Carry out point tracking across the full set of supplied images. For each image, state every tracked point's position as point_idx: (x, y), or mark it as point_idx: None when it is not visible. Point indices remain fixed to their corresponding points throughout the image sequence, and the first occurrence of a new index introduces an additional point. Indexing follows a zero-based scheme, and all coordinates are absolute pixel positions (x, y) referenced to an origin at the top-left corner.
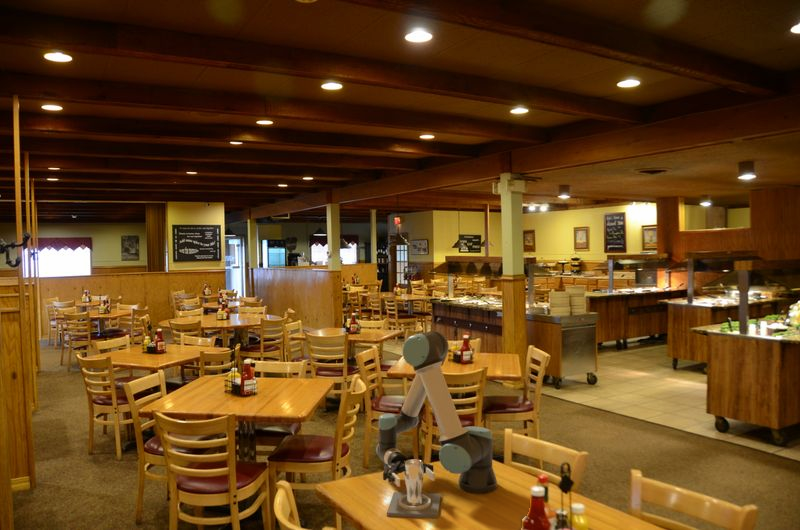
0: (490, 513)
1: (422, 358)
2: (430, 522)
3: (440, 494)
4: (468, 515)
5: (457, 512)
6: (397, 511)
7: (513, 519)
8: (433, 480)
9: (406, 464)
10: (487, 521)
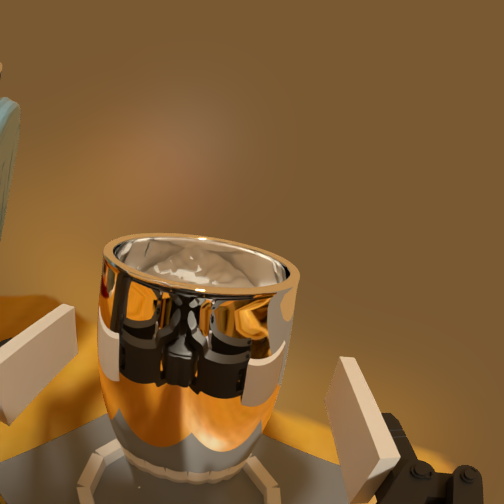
0: (25, 326)
1: None
2: None
3: None
4: None
5: (75, 377)
6: (312, 468)
7: (29, 296)
8: (73, 348)
9: (294, 266)
10: None
